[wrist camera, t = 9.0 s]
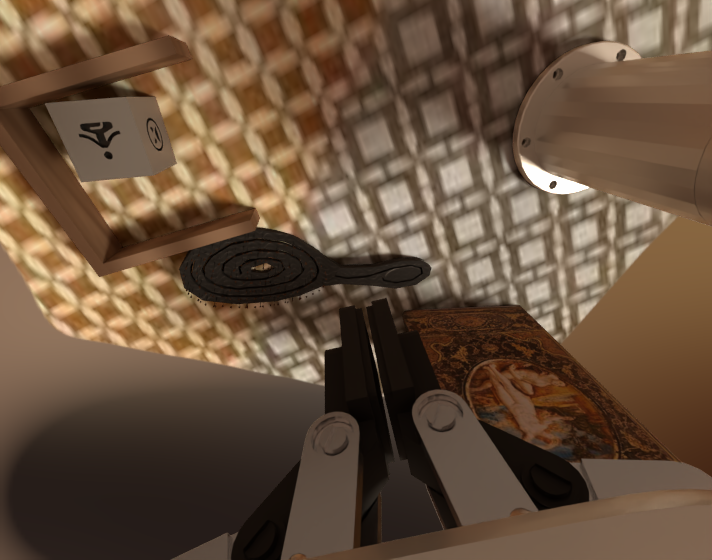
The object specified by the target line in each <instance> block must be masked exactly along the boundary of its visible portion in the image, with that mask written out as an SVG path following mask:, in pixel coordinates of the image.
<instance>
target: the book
mask: <svg viewBox="0 0 712 560" xmlns="http://www.w3.org/2000/svg"><path fill="white" fill-rule="evenodd" d="M403 320H404V324H405V326H406V329H407V331H408V332H410V331H414V330H417V331H418V332H419V335H420V337H421V340H422V342H423V345H424V347H425V350H426V352H427V355H428V357H429V360H430V362H431V365H432V367H433V370H434V372H435V375H436V377H437V380H438V382H439V385H440V387H441V390H447V391H450V392H454V393H455V394H457V395H458V396H460V397H461V398H462V399H463V400H464V401H465V402H466V403H467V405H468V406H469V408H470V409H471V411H472V412H473V414H474V415H475V417H476V418H477V419H479V420H481V421H483V422H486V423H488V424H490V425H492V426H494V427H496V428H499V429H501V430H503V431H505V432H507V433H509V434H512V435H514V436H516V437H518V438H520V439H522V440H525V441H527V442H529V443H531V444H533V445H536V446H538V447H540V448H542V449H544V450H546V451H549V452H551V453H553V454H555V455H557V456H559V457H561V458H563V459H564V460H566V461H568V462H571V463H580V462H581V459H617V460H658V461H675V462H681V461H680V460H679V459H678V458H677V457H676V456H674V454H673V453H672V452H671V451H670V450H669V449H668V448H666V447H665V446H664V445H663V444H662V443H661V442H660V441H659V440H658V439H657V438H656V437H655V436H654V435H653V434H652V433H651V432H650V431H649V430H648V429H647V428H646V427H645V426H644V425H643V424H642V423H641V422H640V421H639V420H638V419H636V417H635V416H634V415H632V414H631V413H630V412H629V411H628V410H627V409H626V408H625V407H624V406H623V405H622V404H621V403H620V402H619V401H618V400H617V399H616V398H615V397H614V396H613V395H612V394H611V393H610V392H609V391H607V389H606V388H604V386H603V385H602V384H601V383H599V382H598V381H597V380H596V379H595V378H594V377H593V376H592V375H591V374H590V373H589V372H588V371H587V370H586V369H585V368H584V367H583V366H582V365H581V364H580V363H579V362H578V361H577V360H576V359H575V358H574V357H573V356H571V354H570V353H568V352H567V351H566V350H565V349H564V348H563V347H562V346H561V345H560V344H559V343H558V342H557V341H556V340H555V339H554V338H553V337H552V336H551V335H550V334H549V333H548V332H547V331H546V330H545V329H544V328H543V327H542V326H541V325H540V324H539V323H538V322H537V321H536V320H535V319H533V318H532V317H531V316H530V315H529V314H528V313H527V312H526V311H525V310H524V309H523V308H522V307H521V306H520V305H516V306H491V307H466V308H441V309H422V310H408V311H405V312H404V313H403ZM681 463H682V462H681Z"/></svg>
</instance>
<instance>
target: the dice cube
mask: <svg viewBox="0 0 712 560" xmlns="http://www.w3.org/2000/svg"><path fill="white" fill-rule="evenodd" d="M45 105H46V107H47V109H48V111H49V114H50V116H51V118H52V120H53V122H54V124H55V126H56V129H57V131H58V133H59V135H60V137H61V139H62V141H63V144H64V146H65V148H66V150H67V152H68V154H69V156H70V159H71V161H72V163H73V165H74V167H75V169H76V171H77V174H78V176H79V178H80V180H81V182H89V181H99V180H110V179H120V178H130V177H141V176H151V175H156V174H157V173H159V172H161V171H163V170H165V169H167V168H169V167H171V166H173V165H175V164H177V162H176V159H175V156H174V153H173V150H172V147H171V143H170V140H169V137H168V134H167V131H166V128H165V125H164V122H163V118H162V115H161V112H160V109H159V106H158V103H157V100H156V97H118V98H105V99H92V100H79V101H66V102H53V103H45Z"/></svg>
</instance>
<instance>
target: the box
mask: <svg viewBox="0 0 712 560" xmlns="http://www.w3.org/2000/svg"><path fill="white" fill-rule="evenodd" d="M190 59H192V57H191V54H190V52H189V50H188V47H187V45H186V43H184V42H182V41H180V40H178V39H176V38H173V37H171V36H166V37H162V38H159V39H156V40H152V41H149V42H146V43H142V44H139V45H136V46H133V47H129V48H126V49H123V50H119V51H116V52H113V53H109V54H106V55H103V56H99V57H96V58H93V59H89V60H86V61H83V62H80V63H76V64H73V65H70V66H66V67H63V68H60V69H56V70H53V71H50V72H46V73H43V74H40V75H37V76H33V77H30V78H27V79H23V80H20V81H17V82H13V83H10V84H7V85H3V86H0V146H1V147H2V148H3V150H4V151H5V152H6V154H7V155H8V156H9V158H10V159H11V160H12V161H13V163H14V164H15V165H16V167H17V168H18V169H19V171H20V172H21V173H22V175H23V176H24V177H25V179H26V180H27V181H28V183H29V184H30V185H31V187H32V188H33V189H34V191H35V192H36V193H37V195H38V196H39V197H40V199H41V200H42V201H43V203H44V204H45V205H46V207H47V208H48V209H49V211H50V212H51V213H52V215H53V216H54V217H55V219H56V220H57V221H58V223H59V224H60V225H61V227H62V228H63V229H64V231H65V232H66V233H67V235H68V236H69V237H70V239H71V240H72V241H73V243H74V244H75V245H76V247H77V248H78V249H79V251H80V252H81V253H82V254H83V256H84V257H85V258H86V260H87V261H88V262H89V264H90V265H91V266H92V268H93V269H94V270H95V272H96V273H97V274H98V276H99V277H101V276H104V275H108V274H111V273H114V272H118V271H121V270H124V269H128V268H131V267H135V266H138V265H141V264H145V263H148V262H151V261H155V260H158V259H162V258H165V257H168V256H172V255H175V254H178V253H182V252H185V251H189V250H192V249H195V248H199V247H202V246H205V245H209V244H212V243H216V242H219V241H222V240H226V239H229V238H232V237H236V236H239V235H242V234H246V233H249V232H253V231H255V230H256V227H257V224H258V222H259V219H260V217H259V215H258V212H257V210H256V208H254V209H251V210H247V211H244V212H241V213H237V214H234V215H230V216H227V217H224V218H220V219H217V220H214V221H210V222H207V223H204V224H200V225H197V226H193V227H190V228H187V229H183V230H180V231H177V232H173V233H170V234H167V235H163V236H160V237H156V238H153V239H150V240H146V241H143V242H140V243H136V244H133V245H129V246H126V247H122V245H121V244H120V242H119V241H118V240H117V238H116V237H115V235H114V234H113V232H112V231H111V229H110V228H109V226H108V225H107V223H106V222H105V220H104V219H103V217H102V216H101V214H100V213H99V211H98V210H97V208H96V207H95V205H94V204H93V203H92V201H91V200H90V198H89V197H88V195H87V194H86V192H85V191H84V189H83V188H82V186H81V185H80V183H79V182H78V180H77V179H76V177H75V176H74V174H73V173H72V171H71V170H70V168H69V167H68V166H67V164H66V163H65V161H64V160H63V158H62V157H61V155H60V154H59V152H58V151H57V149H56V148H55V146H54V145H53V143H52V142H51V140H50V139H49V137H48V136H47V134H46V133H45V131H44V130H43V129H42V127H41V126H40V124H39V123H38V121H37V120H36V118H35V117H34V115H33V114H32V112H31V111H30V109H29V108H31V107H34V106H37V105H41V104H44V103H47V102H51V101H54V100H57V99H61V98H64V97H67V96H71V95H74V94H77V93H81V92H84V91H87V90H90V89H94V88H97V87H100V86H104V85H107V84H110V83H114V82H117V81H120V80H124V79H127V78H130V77H134V76H137V75H140V74H144V73H147V72H150V71H154V70H157V69H160V68H163V67H167V66H170V65H173V64H177V63H180V62H183V61H187V60H190Z"/></svg>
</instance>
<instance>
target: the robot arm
mask: <svg viewBox="0 0 712 560" xmlns="http://www.w3.org/2000/svg"><path fill="white" fill-rule="evenodd" d="M522 141H523V142H522ZM513 153H514V159H515V162H516V165H517V167H518V170H519V171H520V173H521V174H522V176H523V177H524V179H525V180H526V181H528V182H529V183H530V184H531V185H532V186H534V187H536V188H538V189H540V190H543V191H545V192H548V193H553V194H570V193H575V192H578V191H582V190H585V189H587V188H589V187H590V188H593V189H596V190H599V191H602V192H605V193H609V194H612V195H615V196H618V197H621V198H624V199H627V200H631V201H634V202H637V203H640V204H643V205H646V206H649V207H652V208H656V209H659V210H662V211H665V212H668V213H671V214H674V215H678V216H681V217H684V218H687V219H690V220H694V221H697V222H700V223H703V224H706V225H710V226H712V50H711V51H703V52H694V53H685V54H677V55H668V56H659V57H651V58H642V57H641V56H640V55H639V53H638V52H636V51H635V50H634V49H632V48H631V47H630V46H628V45H625V44H622V43H620V42H614V41H601V42H594V43H589V44H586V45H582V46H579V47H576V48H574V49H572V50H570V51H568V52H567V53H565V54H563V55H561V56H560V57H559V58H558V59H556V60H555V61H554V62H552V63H551V64H550V65H549V66H548V67H547V68H546V69H545V70H544V71H543V72H542V73H541V74H540V75H539V76H538V78H537V79H536V80H535V82H534V83H533V85H532V86H531V87H530V89H529V90H528V92H527V94H526V96H525V98H524V100H523V102H522V104H521V106H520V109H519V112H518V114H517V117H516V121H515V126H514V131H513ZM371 303H372V306H368V307H366V309H367V314H368V319H369V324H370V329H371V333H372V338H373V343H374V348H375V353H376V358H377V363H378V368H379V373H380V378H381V383H382V388H383V392H384V397H385V401H386V405H387V409H388V413H389V417H390V421H391V425H392V429H393V433H394V437H395V441H396V445H397V449H398V453H399V457H400V460H405V459H408V463H409V467H410V472H411V475H413V476H414V477H416V478H417V479H419V480H421V481H422V482H424V483H425V484H426V487H427V490H428V493H429V495H430V498H431V500H432V502H433V505H434V507H435V509H436V512H437V514H438V517H439V519H440V521H441V524H442V526H443V529H444V530H443V531H438V532H433V533H428V534H423V535H419V536H413V537H409V538H404V539H399V540H394V541H389V542H384V543H382V535H381V534H382V530H381V529H382V528H381V527H382V524H381V523H382V520H381V519H382V517H381V493H380V492H381V490H382V489H383V487H384V486H385V484H386V483H387V481H388V480H389V477H388V475H390V472H389V466H388V463H391V462H394V455H393V450H392V445H391V440H390V435H389V429H388V425H387V419H386V414H385V409H384V404H383V399H382V393H381V388H380V383H379V378H378V373H377V368H376V364H375V360H374V356H373V352H372V348H371V344H370V340H369V336H368V332H367V328H366V324H365V320H364V316H363V312H362V308H359V309H356V308H355V305H354V306H349V307H345V308H341V309H339V313H340V326H341V340H342V347H338V348H334V349H329V350H325V415H323V416H322V417H320V418H319V419H318V420H316V421H315V422H314V423H313V424H312V426H311V427H310V428H309V430H308V433H307V436H306V439H305V443H304V448H303V453H302V458H301V460H300V461H299V462H298V463H297V464H296V465H295V466H294V467H293V469H292V470H291V471H290V472H289V473H288V474H287V475H286V477H285V478H284V479H283V480H282V481H281V482H280V484H278V486H277V487H276V488H275V489H274V490H273V491H272V492H271V494H270V495H269V496H268V497H267V498H266V499H265V500H264V502H263V503H262V504H261V505H260V506H259V507H258V508H257V509H256V511H255V512H254V513H253V514H252V515H251V516H250V517H249V518H248V520H247V521H246V522H245V523H244V525H243V526H242V528H241V529H240V530H239V532H238V533H236V534H234V535H232V536H230V535H229V534H228V533H226V534H224V535H222V536H220V537H218V538H216V539H213V540H211V541H209V542H207V543H205V544H203V545H201V546H199V547H197V548H195V549H192V550H190V551H188V552H186V553H184V554H182V555H180V556H178V557H176V558H173V559H171V560H712V477H710V476H708V475H707V474H706V473H704V472H703V471H701V470H700V469H697V468H695V467H693V466H690V465H688V464H685V463H681V462H675V461H658V460H617V459H581V462H580V463H571V462H568V461H566V460H564V459H563V458H561V457H559V456H557V455H555V454H553V453H551V452H549V451H546V450H544V449H542V448H540V447H538V446H536V445H533V444H531V443H529V442H527V441H525V440H522V439H520V438H518V437H516V436H514V435H512V434H509V433H507V432H505V431H503V430H501V429H499V428H496V427H494V426H492V425H490V424H488V423H486V422H483V421H481V420H479V419H477V418H476V417H475V415H474V414H473V412H472V411H471V409H470V408H469V406H468V405H467V403H466V402H465V401H464V400H463V399H462V398H461V397H460V396H458V395H457V394H455V393H454V392H450V391H447V390H441V387H440V385H439V382H438V380H437V377H436V375H435V372H434V370H433V367H432V365H431V362H430V360H429V357H428V355H427V352H426V350H425V347H424V345H423V342H422V340H421V337H420V335H419V332H418V331H417V330H414V331H410V332H405V333H401V334H397V331H396V328H395V324H394V321H393V318H392V315H391V311H390V308H389V305H388V302H387V299H386V298H384V299H380V300H376V301H371Z"/></svg>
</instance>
